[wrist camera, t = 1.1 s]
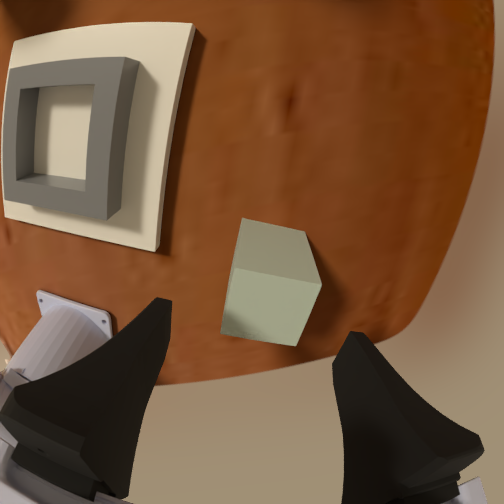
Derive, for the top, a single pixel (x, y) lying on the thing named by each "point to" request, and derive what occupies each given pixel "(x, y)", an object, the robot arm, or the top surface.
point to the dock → (93, 128)
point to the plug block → (270, 284)
